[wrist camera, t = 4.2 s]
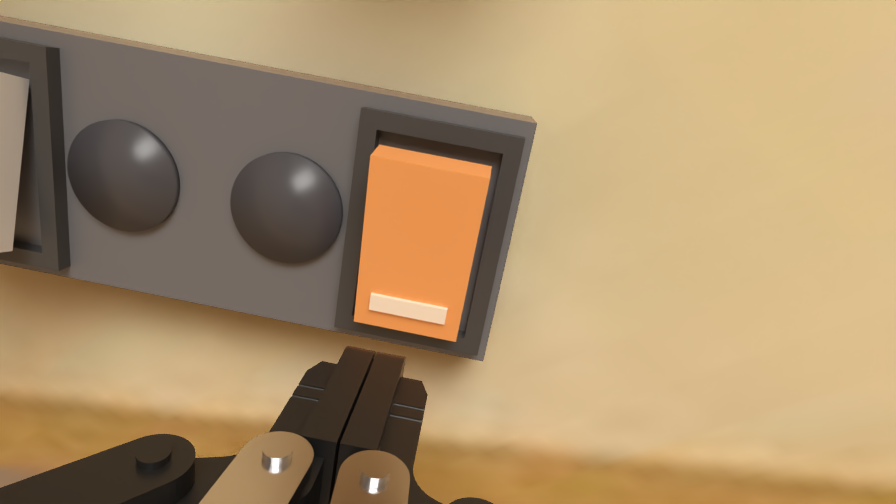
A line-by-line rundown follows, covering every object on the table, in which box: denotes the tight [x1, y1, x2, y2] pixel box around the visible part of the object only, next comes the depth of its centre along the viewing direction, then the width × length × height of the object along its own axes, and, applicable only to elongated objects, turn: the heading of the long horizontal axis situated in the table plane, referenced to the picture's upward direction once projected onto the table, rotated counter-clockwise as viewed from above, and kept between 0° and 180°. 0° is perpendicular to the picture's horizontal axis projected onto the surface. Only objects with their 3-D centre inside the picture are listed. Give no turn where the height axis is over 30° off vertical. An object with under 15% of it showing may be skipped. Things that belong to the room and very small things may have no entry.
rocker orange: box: [354, 145, 492, 342], centre depth 18 cm, size 6×4×1 cm, turn 170°
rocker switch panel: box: [0, 16, 537, 361], centre depth 21 cm, size 9×22×4 cm, turn 80°
